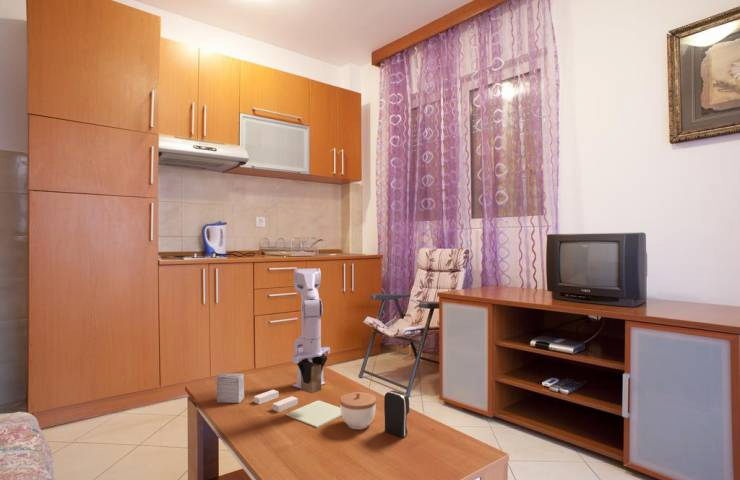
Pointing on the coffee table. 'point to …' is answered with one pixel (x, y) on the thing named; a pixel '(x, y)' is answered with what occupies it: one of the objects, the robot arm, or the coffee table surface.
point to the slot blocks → (278, 405)
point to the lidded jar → (358, 409)
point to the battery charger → (396, 413)
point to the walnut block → (313, 380)
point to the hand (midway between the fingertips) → (311, 380)
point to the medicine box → (230, 388)
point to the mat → (316, 413)
